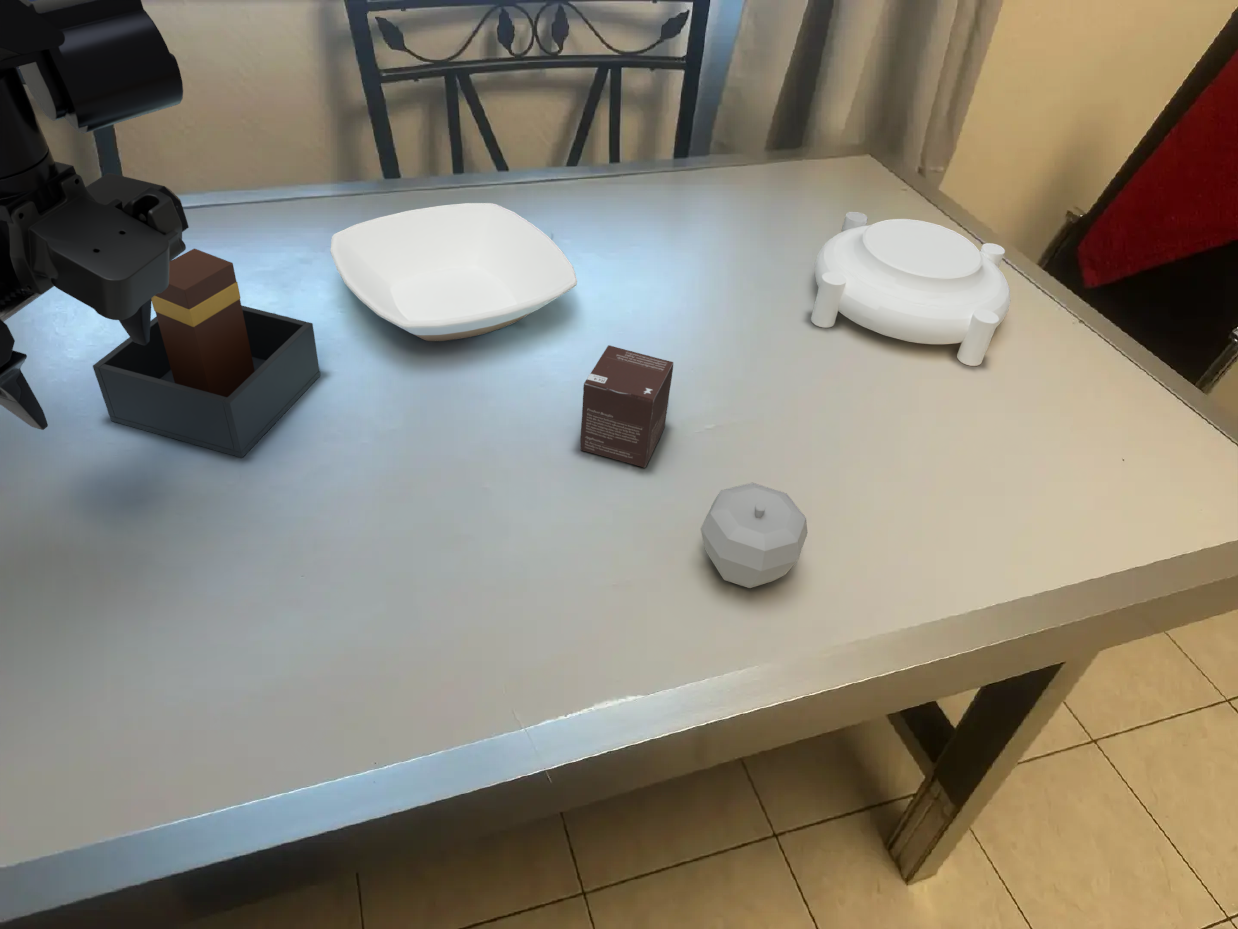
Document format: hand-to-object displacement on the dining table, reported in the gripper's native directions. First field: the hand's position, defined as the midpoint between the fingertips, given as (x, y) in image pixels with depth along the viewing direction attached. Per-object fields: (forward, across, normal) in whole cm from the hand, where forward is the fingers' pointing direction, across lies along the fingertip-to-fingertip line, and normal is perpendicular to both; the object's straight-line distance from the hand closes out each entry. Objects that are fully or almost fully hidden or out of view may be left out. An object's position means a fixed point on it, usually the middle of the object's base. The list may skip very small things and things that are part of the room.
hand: (93, 382), depth 62 cm
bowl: (+16, +36, -6) cm, 40 cm away
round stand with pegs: (+19, +59, -49) cm, 79 cm away
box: (+16, +24, -29) cm, 40 cm away
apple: (+16, +14, -42) cm, 47 cm away
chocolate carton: (+13, +14, +5) cm, 20 cm away
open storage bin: (+14, +14, +5) cm, 20 cm away
